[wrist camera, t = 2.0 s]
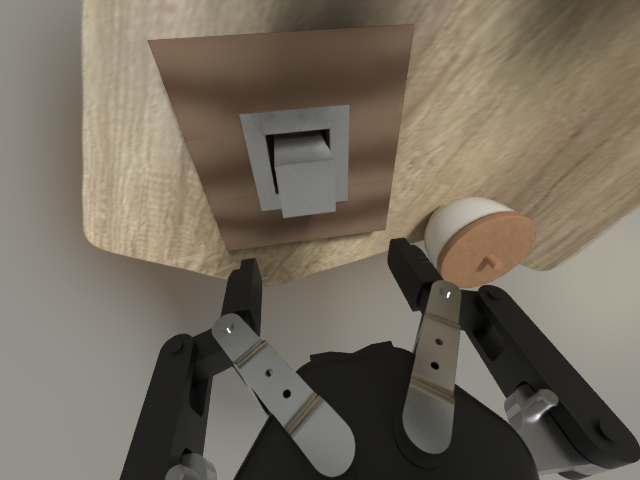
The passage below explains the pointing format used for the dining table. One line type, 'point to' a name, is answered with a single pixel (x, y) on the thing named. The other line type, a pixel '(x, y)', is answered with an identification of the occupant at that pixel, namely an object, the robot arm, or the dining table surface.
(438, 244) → the lidded bowl
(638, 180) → the dining table surface
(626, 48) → the dining table surface
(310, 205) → the brushed steel block
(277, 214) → the mount plate
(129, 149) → the dining table surface
